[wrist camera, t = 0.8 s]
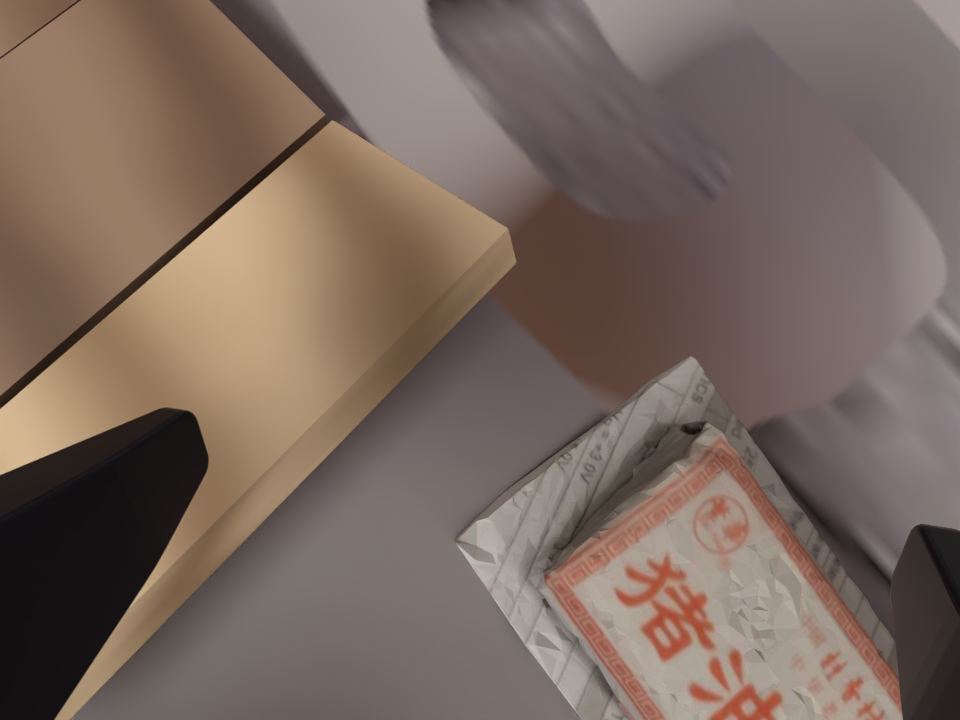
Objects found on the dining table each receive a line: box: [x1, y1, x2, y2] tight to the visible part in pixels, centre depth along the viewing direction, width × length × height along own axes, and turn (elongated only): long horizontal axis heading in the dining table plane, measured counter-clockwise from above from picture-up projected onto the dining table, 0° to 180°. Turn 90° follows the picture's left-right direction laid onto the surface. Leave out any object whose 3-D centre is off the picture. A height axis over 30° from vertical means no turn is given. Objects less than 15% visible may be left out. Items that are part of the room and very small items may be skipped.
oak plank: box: [0, 120, 516, 720], centre depth 18 cm, size 20×7×2 cm
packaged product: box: [454, 356, 903, 720], centre depth 21 cm, size 18×5×10 cm
